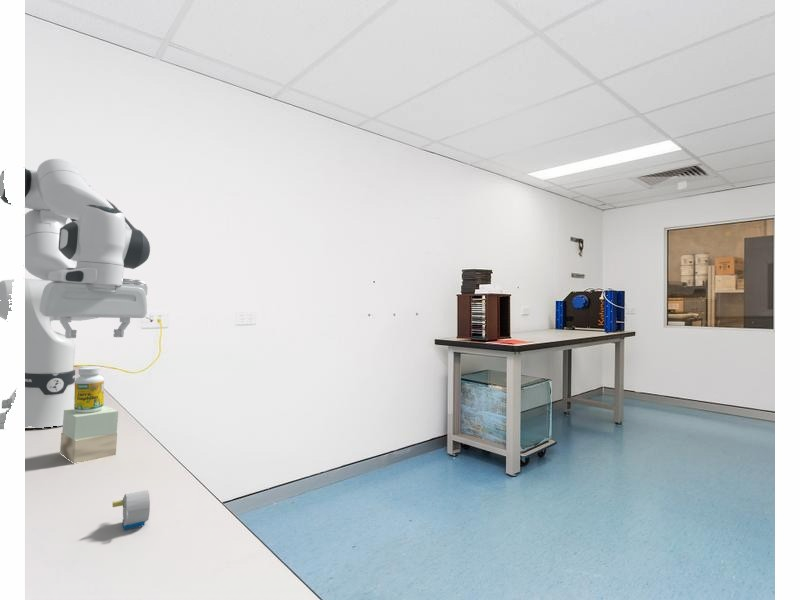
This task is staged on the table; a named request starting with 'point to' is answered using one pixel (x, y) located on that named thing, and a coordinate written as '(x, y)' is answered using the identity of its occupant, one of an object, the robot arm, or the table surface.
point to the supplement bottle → (89, 390)
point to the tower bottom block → (88, 447)
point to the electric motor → (134, 509)
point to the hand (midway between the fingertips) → (95, 337)
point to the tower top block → (90, 423)
